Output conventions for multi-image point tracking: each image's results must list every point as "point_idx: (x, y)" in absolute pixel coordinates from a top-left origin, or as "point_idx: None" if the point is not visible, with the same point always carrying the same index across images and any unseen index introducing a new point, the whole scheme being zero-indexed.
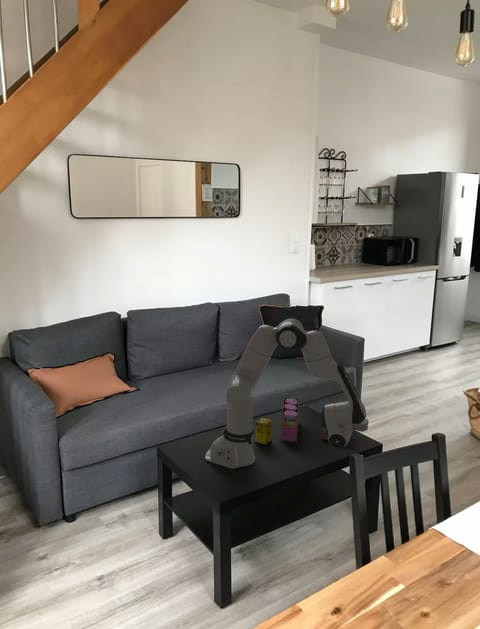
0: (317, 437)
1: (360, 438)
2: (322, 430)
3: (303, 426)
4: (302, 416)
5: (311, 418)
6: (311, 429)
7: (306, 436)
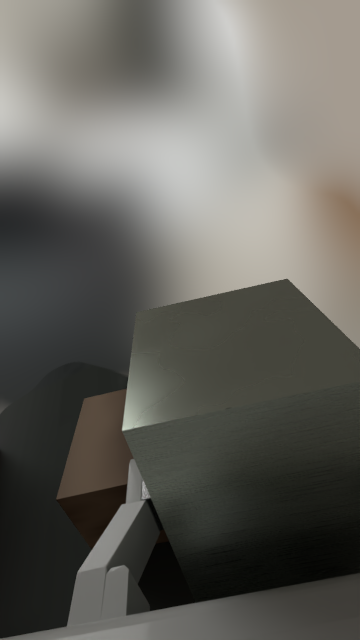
0: (77, 550)
1: None
2: (83, 525)
3: (18, 467)
4: (28, 397)
5: (60, 393)
6: (51, 474)
7: (12, 575)
